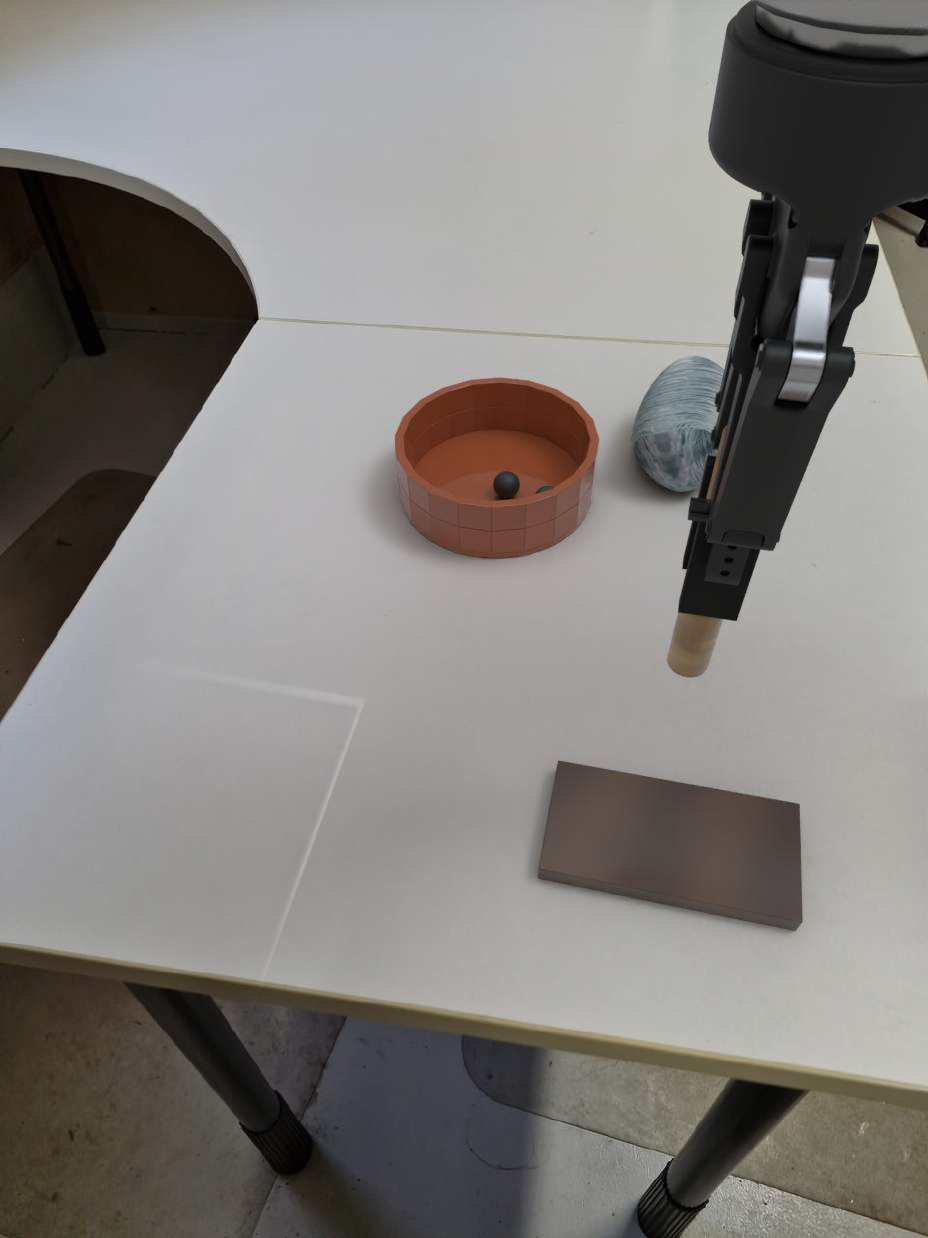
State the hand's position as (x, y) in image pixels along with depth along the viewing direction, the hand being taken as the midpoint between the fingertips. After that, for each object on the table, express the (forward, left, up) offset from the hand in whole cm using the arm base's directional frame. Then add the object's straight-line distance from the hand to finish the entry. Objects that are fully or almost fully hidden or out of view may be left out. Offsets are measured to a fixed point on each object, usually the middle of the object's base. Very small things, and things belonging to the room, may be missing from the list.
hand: (709, 587), depth 41 cm
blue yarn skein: (0, -37, -22) cm, 43 cm away
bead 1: (+15, -28, -20) cm, 38 cm away
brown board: (-2, +3, -22) cm, 22 cm away
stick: (0, 0, -6) cm, 6 cm away
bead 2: (+11, -27, -20) cm, 35 cm away
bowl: (+16, -29, -22) cm, 40 cm away
